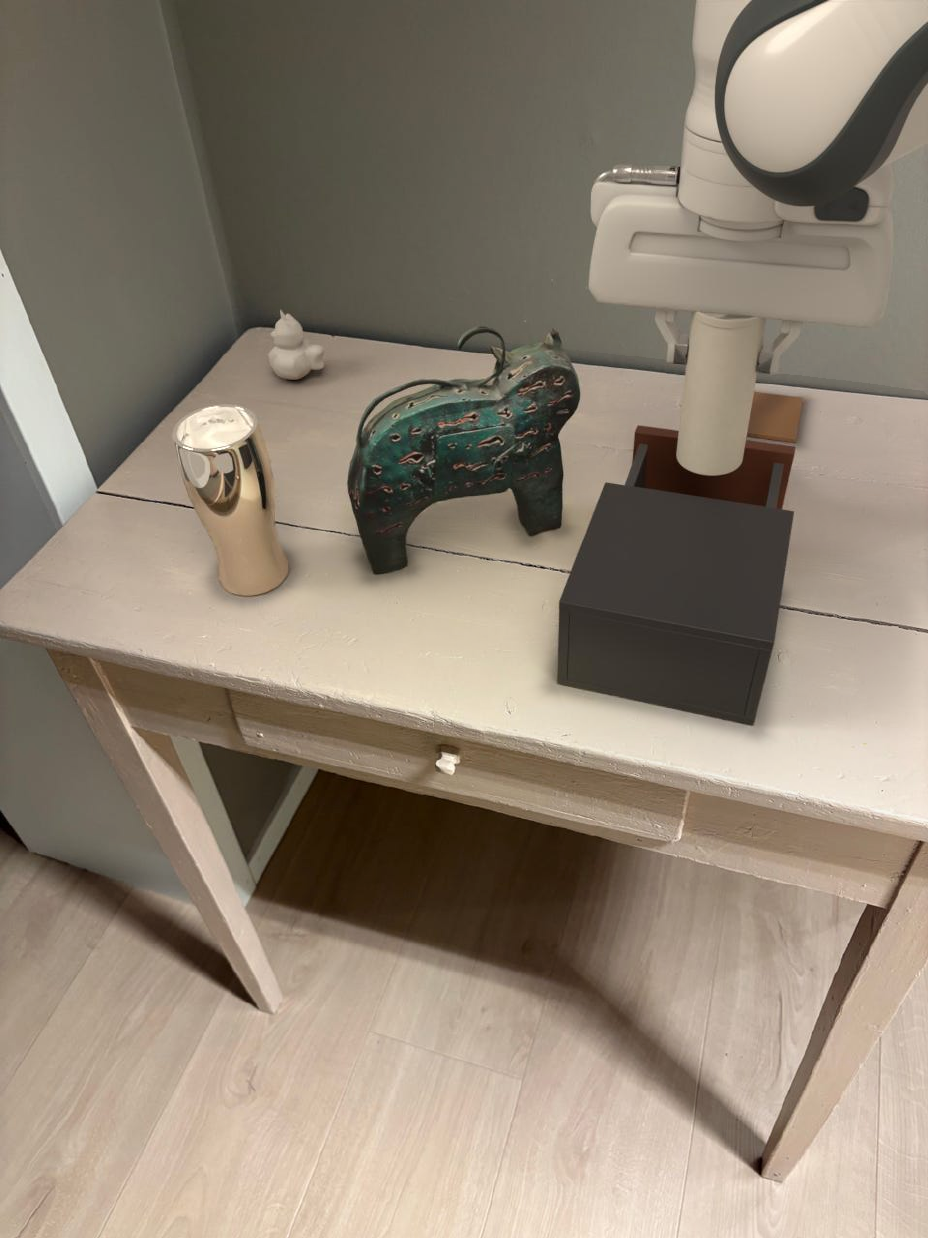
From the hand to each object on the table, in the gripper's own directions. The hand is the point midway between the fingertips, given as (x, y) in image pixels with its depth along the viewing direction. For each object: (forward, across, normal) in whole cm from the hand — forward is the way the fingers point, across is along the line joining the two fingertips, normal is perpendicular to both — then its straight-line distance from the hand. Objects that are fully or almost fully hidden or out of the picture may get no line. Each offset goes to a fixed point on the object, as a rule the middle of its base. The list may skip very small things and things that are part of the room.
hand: (722, 365), depth 71 cm
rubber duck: (+17, -47, +19) cm, 54 cm away
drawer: (+17, 0, +1) cm, 17 cm away
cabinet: (+18, 0, -11) cm, 21 cm away
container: (+8, 0, 0) cm, 8 cm away
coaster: (+18, +3, +23) cm, 29 cm away
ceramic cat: (+18, -19, -4) cm, 27 cm away
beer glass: (+18, -36, -13) cm, 42 cm away
